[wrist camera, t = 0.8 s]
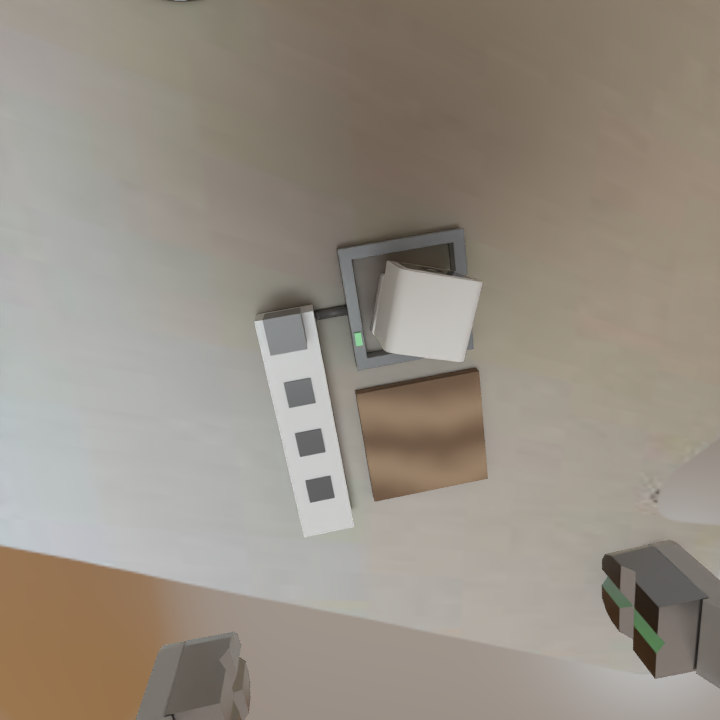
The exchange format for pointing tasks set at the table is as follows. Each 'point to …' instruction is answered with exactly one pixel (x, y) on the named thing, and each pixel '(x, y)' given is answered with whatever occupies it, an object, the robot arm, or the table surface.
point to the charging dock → (384, 247)
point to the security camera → (425, 311)
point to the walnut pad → (423, 433)
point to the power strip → (305, 415)
